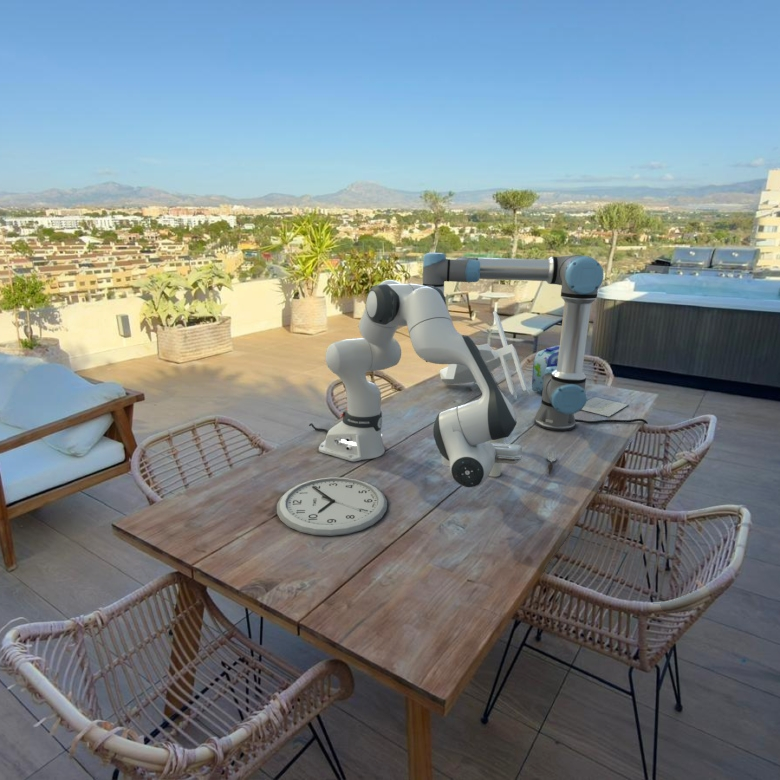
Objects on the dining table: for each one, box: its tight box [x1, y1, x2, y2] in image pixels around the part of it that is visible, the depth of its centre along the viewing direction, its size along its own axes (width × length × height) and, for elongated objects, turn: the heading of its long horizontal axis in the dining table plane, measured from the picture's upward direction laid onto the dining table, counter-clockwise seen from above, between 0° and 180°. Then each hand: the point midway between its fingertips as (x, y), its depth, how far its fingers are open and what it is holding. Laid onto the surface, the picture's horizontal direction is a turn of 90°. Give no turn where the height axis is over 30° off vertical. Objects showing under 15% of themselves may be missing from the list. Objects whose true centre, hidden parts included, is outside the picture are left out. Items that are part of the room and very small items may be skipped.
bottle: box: [488, 438, 505, 478], centre depth 160 cm, size 5×5×19 cm
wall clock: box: [276, 476, 388, 537], centre depth 142 cm, size 30×2×30 cm
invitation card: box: [580, 396, 629, 418], centre depth 226 cm, size 21×1×15 cm
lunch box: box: [531, 344, 560, 393], centre depth 245 cm, size 26×11×21 cm, turn 134°
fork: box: [547, 449, 557, 475], centre depth 169 cm, size 3×16×2 cm, turn 160°
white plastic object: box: [438, 310, 531, 400], centre depth 245 cm, size 37×45×31 cm
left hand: (484, 444), depth 140 cm, fingers open, 8 cm apart
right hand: (430, 357), depth 190 cm, fingers open, 13 cm apart
